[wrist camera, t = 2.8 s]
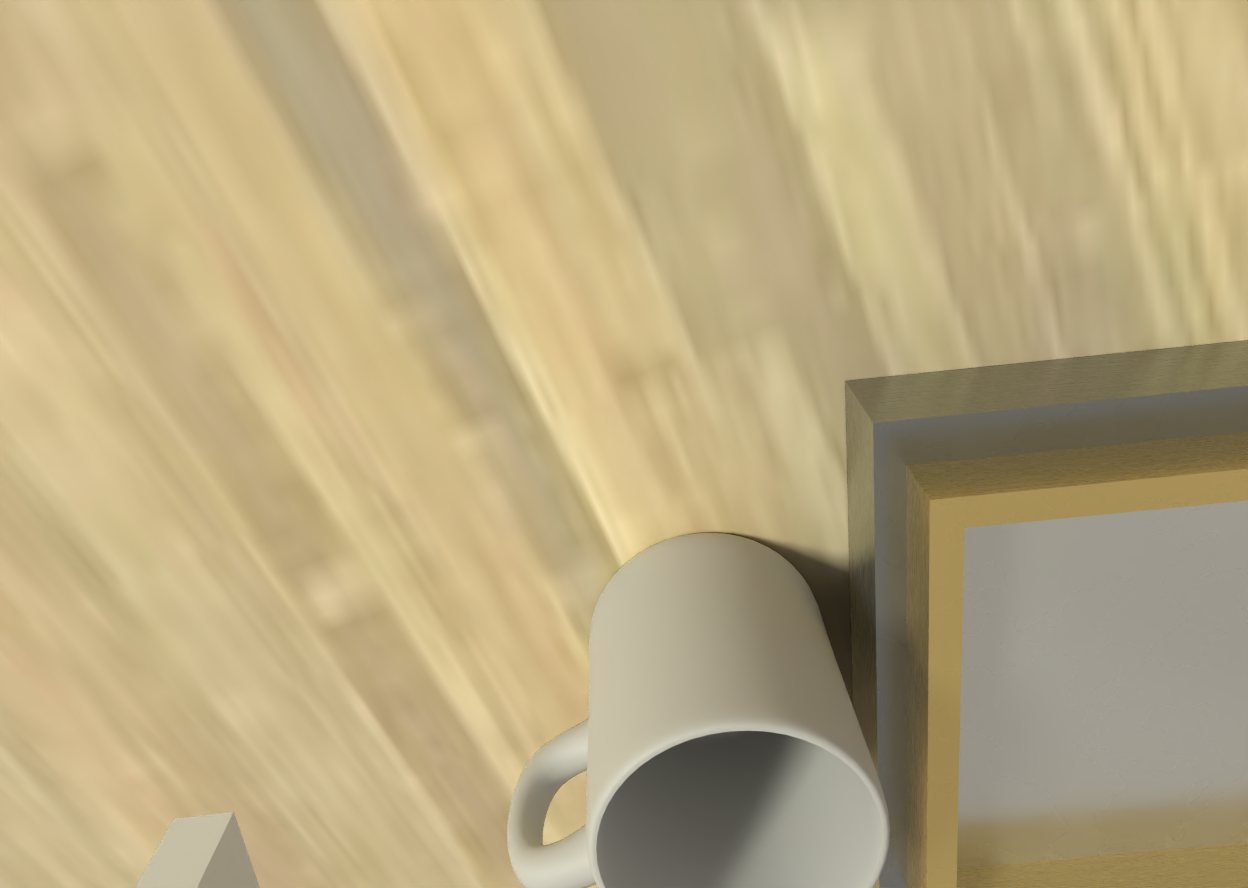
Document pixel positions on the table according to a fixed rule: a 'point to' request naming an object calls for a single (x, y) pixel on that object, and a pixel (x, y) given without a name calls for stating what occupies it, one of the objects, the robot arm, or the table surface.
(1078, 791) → the yellow and grey tray
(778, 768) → the mug
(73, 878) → the table surface
